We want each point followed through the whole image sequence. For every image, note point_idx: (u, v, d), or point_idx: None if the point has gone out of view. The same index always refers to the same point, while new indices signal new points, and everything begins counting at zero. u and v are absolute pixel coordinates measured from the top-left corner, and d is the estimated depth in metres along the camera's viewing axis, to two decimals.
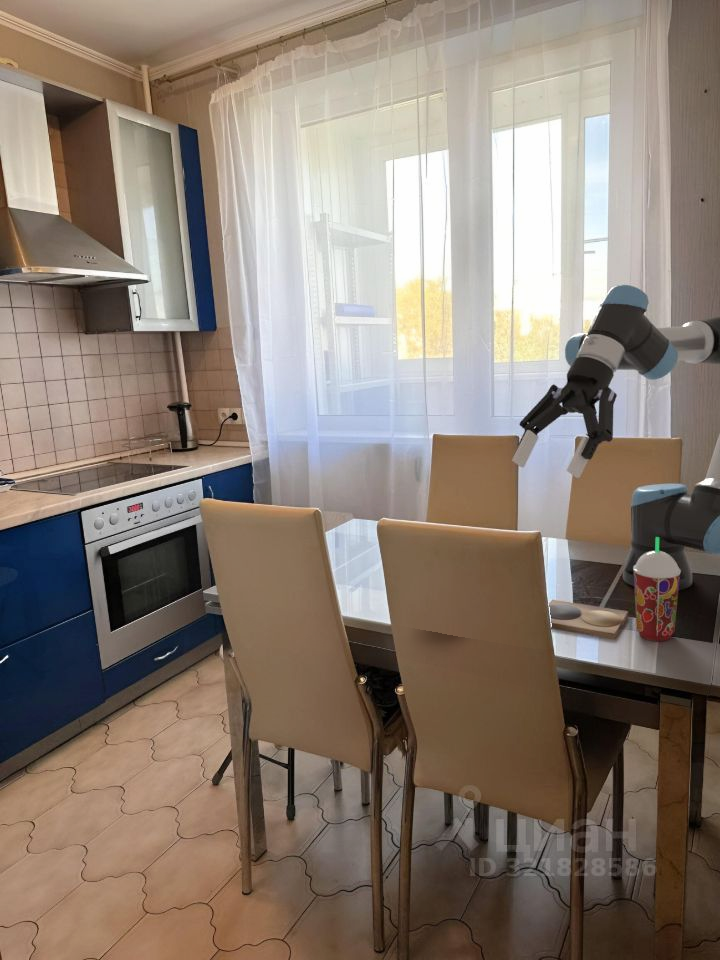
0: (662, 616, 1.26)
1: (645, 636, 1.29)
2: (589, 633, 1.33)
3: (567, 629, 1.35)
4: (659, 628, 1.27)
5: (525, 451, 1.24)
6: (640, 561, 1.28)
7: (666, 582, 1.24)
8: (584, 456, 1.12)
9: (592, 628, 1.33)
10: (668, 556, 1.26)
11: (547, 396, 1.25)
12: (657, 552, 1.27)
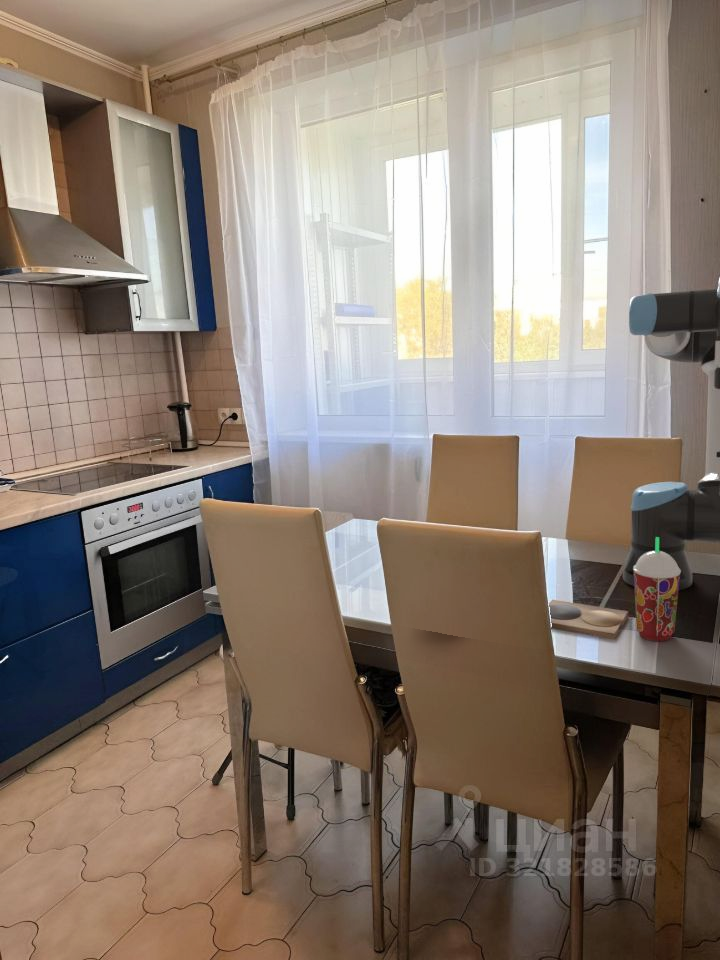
0: (662, 616, 1.26)
1: (645, 636, 1.29)
2: (589, 633, 1.33)
3: (567, 629, 1.35)
4: (659, 628, 1.27)
5: None
6: (640, 561, 1.28)
7: (666, 582, 1.24)
8: None
9: (592, 628, 1.33)
10: (668, 556, 1.26)
11: None
12: (657, 552, 1.27)
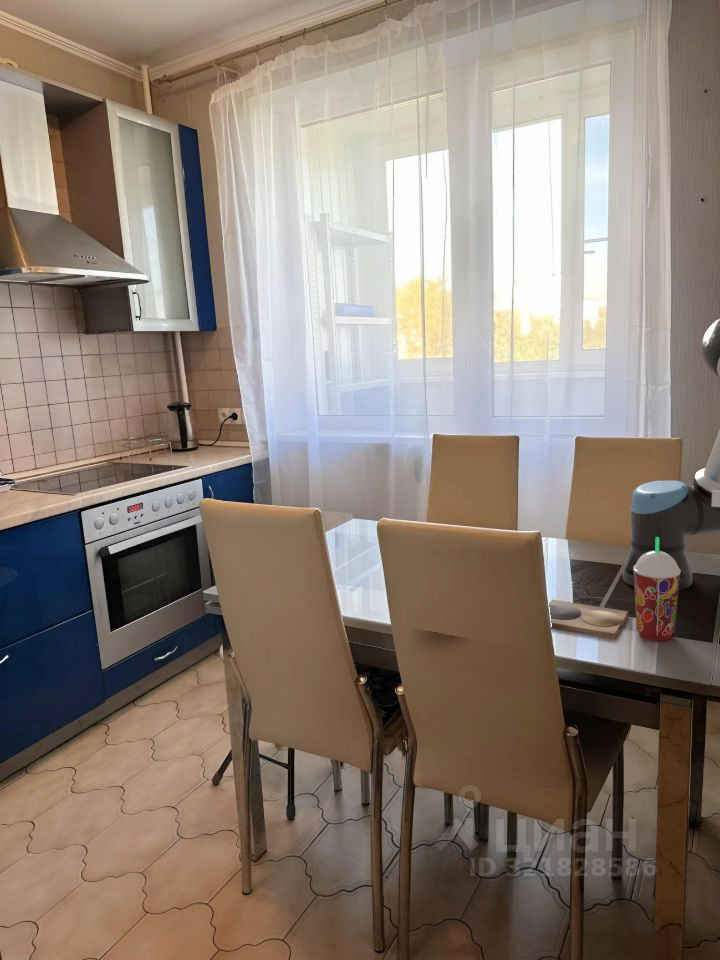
0: (662, 616, 1.26)
1: (645, 636, 1.29)
2: (589, 633, 1.33)
3: (567, 629, 1.35)
4: (659, 628, 1.27)
5: None
6: (640, 561, 1.28)
7: (666, 582, 1.24)
8: None
9: (592, 628, 1.33)
10: (668, 556, 1.26)
11: None
12: (657, 552, 1.27)
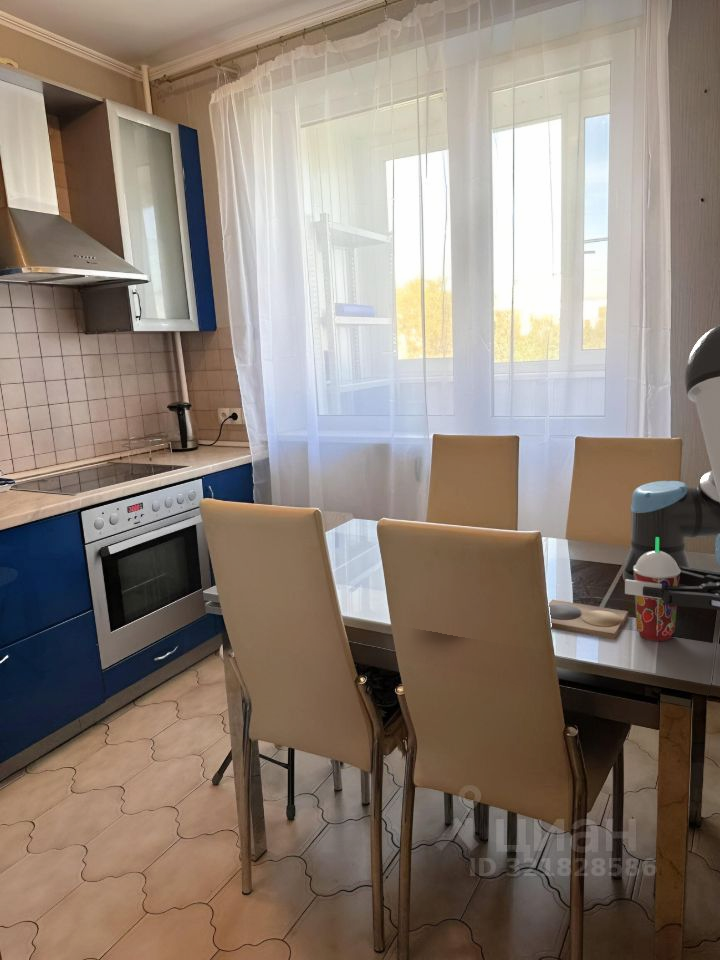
0: (662, 616, 1.26)
1: (645, 636, 1.29)
2: (589, 633, 1.33)
3: (567, 629, 1.35)
4: (659, 628, 1.27)
5: None
6: (640, 561, 1.28)
7: (666, 582, 1.24)
8: None
9: (592, 628, 1.33)
10: (668, 556, 1.26)
11: None
12: (657, 552, 1.27)
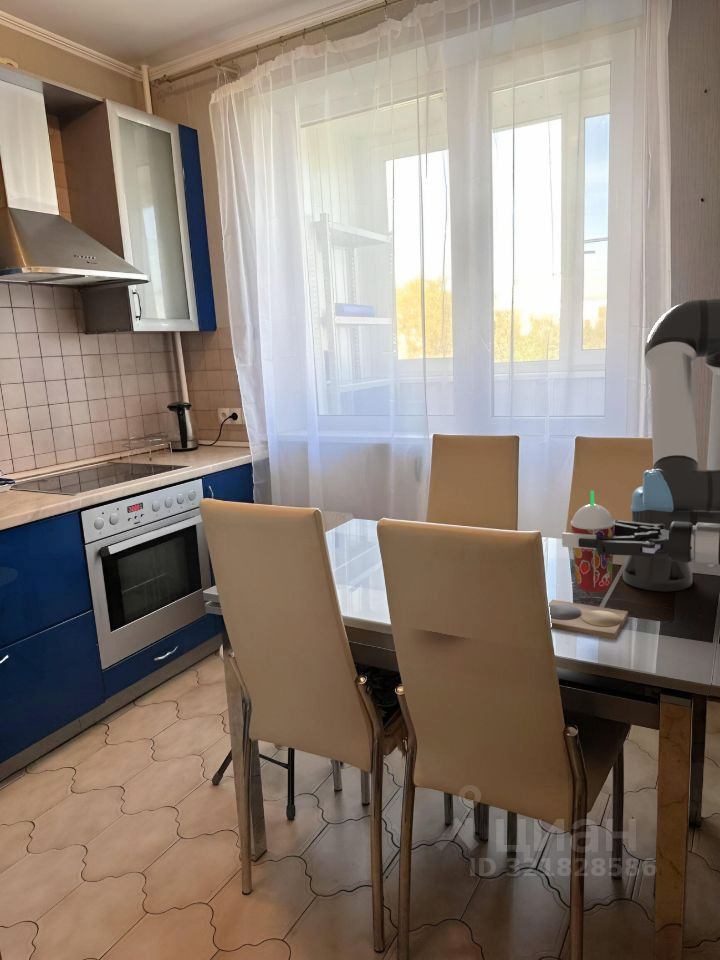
0: (598, 566, 1.30)
1: (583, 588, 1.33)
2: (589, 633, 1.33)
3: (567, 629, 1.35)
4: (596, 579, 1.31)
5: None
6: (576, 514, 1.31)
7: (601, 533, 1.28)
8: None
9: (592, 628, 1.33)
10: (603, 508, 1.30)
11: None
12: (592, 505, 1.31)
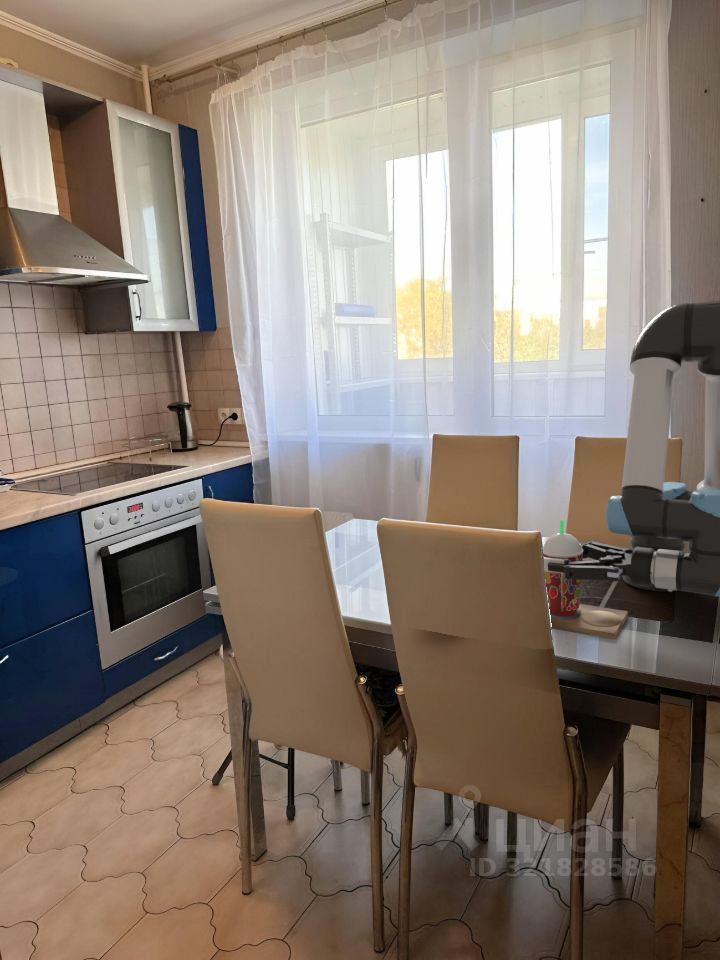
0: (565, 592, 1.37)
1: (552, 611, 1.40)
2: (589, 633, 1.33)
3: (567, 629, 1.35)
4: (563, 604, 1.38)
5: None
6: (546, 542, 1.38)
7: (568, 561, 1.35)
8: None
9: (592, 628, 1.33)
10: (571, 537, 1.37)
11: None
12: (561, 534, 1.37)
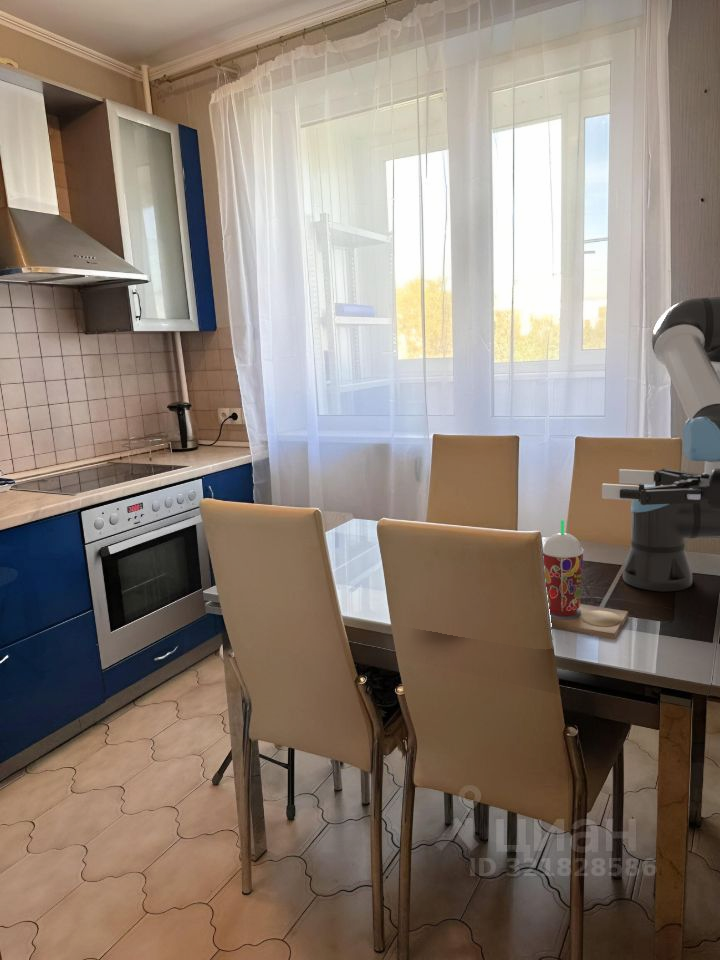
0: (566, 592, 1.37)
1: (552, 611, 1.40)
2: (589, 633, 1.33)
3: (567, 629, 1.35)
4: (563, 604, 1.38)
5: None
6: (547, 542, 1.38)
7: (568, 561, 1.35)
8: None
9: (592, 628, 1.33)
10: (572, 537, 1.37)
11: None
12: (562, 534, 1.38)
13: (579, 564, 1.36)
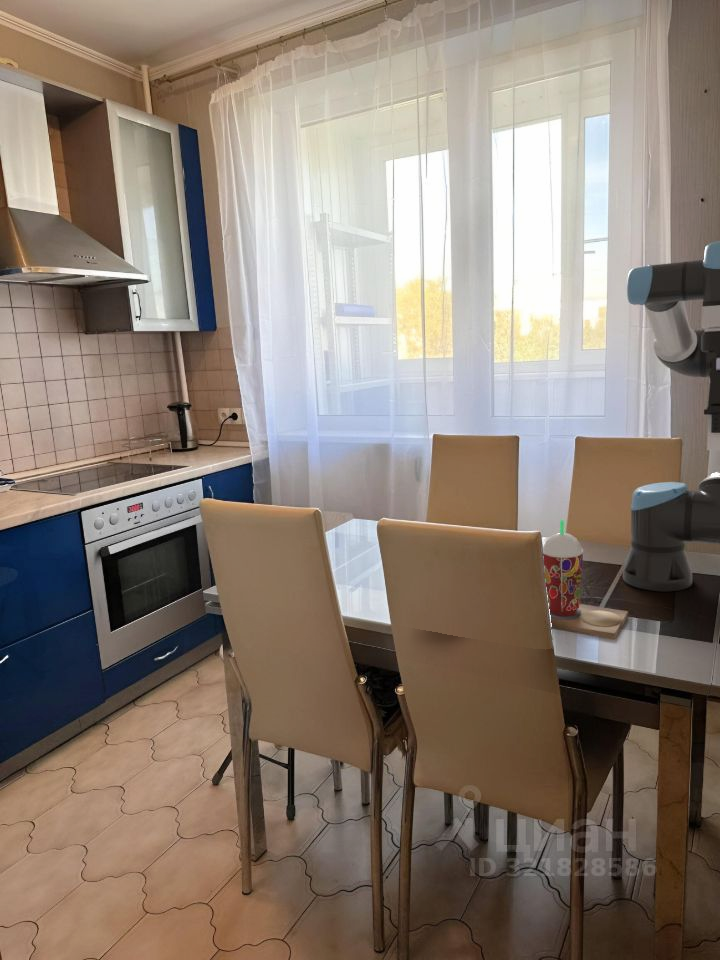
0: (565, 592, 1.37)
1: (552, 611, 1.40)
2: (589, 633, 1.33)
3: (567, 629, 1.35)
4: (563, 604, 1.38)
5: None
6: (547, 542, 1.38)
7: (568, 561, 1.35)
8: None
9: (592, 628, 1.33)
10: (571, 537, 1.37)
11: None
12: (562, 534, 1.38)
13: (579, 564, 1.36)
